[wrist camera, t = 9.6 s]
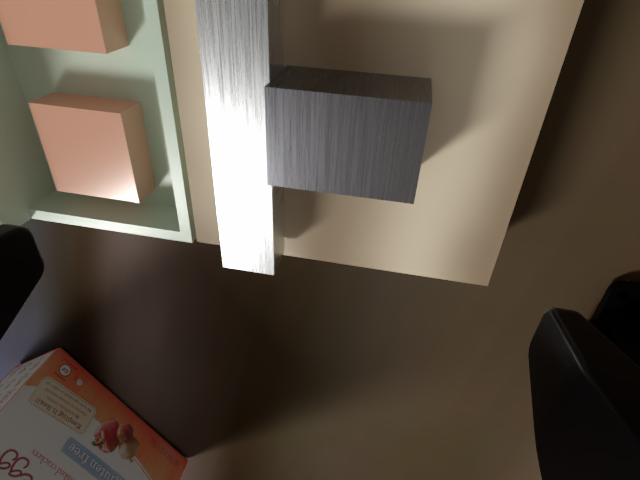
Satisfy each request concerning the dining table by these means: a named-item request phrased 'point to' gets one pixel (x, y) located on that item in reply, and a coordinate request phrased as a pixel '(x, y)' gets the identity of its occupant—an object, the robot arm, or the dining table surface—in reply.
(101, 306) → the dining table surface
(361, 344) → the dining table surface
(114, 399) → the cracker box
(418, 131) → the scraper
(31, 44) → the tile
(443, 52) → the board
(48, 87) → the tray
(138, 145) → the tile
